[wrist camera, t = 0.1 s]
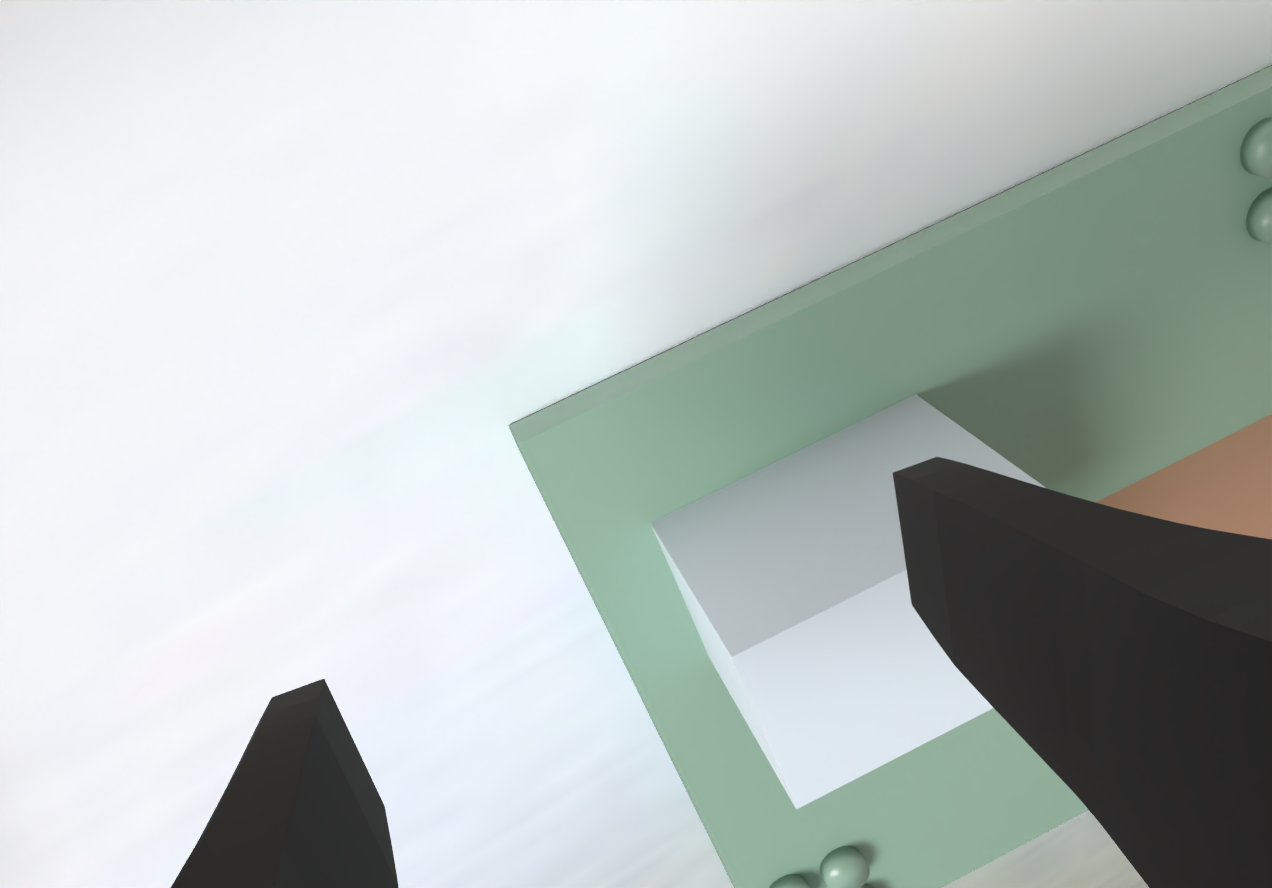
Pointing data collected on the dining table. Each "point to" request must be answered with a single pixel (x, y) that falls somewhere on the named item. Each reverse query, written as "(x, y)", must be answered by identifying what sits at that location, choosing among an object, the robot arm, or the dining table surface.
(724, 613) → the white brick
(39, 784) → the dining table surface
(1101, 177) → the building board
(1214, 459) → the terracotta brick
